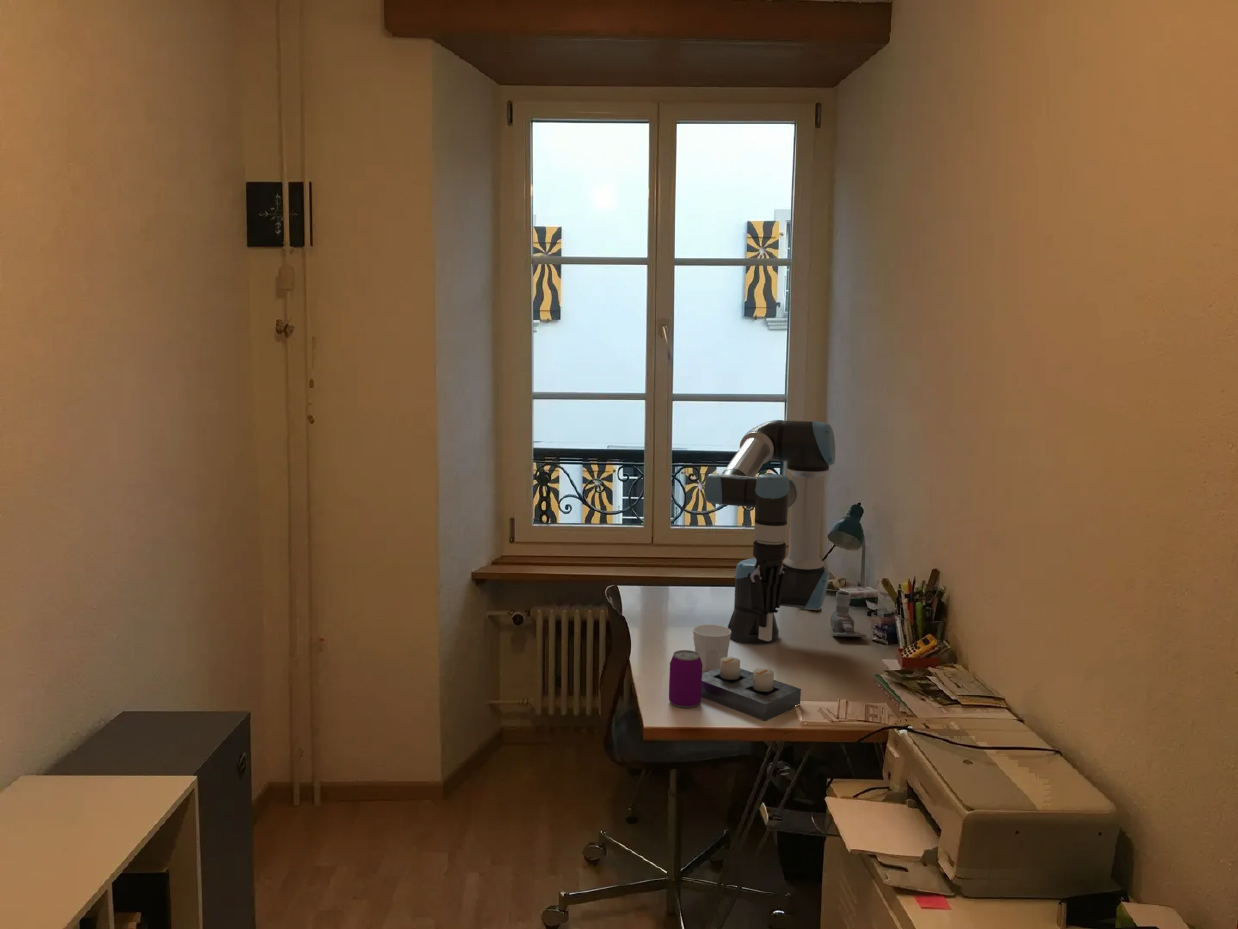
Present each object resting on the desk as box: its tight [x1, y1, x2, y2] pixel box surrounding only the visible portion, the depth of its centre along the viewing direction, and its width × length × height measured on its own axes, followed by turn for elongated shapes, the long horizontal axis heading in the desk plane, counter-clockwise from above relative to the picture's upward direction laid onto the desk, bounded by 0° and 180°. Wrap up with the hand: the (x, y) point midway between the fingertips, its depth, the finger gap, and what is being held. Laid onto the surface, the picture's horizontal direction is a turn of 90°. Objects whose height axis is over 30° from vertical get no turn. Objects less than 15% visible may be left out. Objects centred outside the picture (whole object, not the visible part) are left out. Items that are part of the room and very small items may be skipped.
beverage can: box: [668, 649, 703, 709], centre depth 207 cm, size 8×8×12 cm
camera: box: [830, 590, 867, 638], centre depth 262 cm, size 9×12×15 cm
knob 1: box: [720, 656, 741, 680], centre depth 214 cm, size 5×5×4 cm
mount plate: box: [701, 667, 802, 722], centre depth 211 cm, size 14×22×4 cm, turn 44°
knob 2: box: [753, 667, 775, 692], centre depth 207 cm, size 5×5×4 cm
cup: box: [692, 624, 731, 672], centre depth 232 cm, size 10×10×10 cm
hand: (765, 639), depth 205 cm, fingers closed
